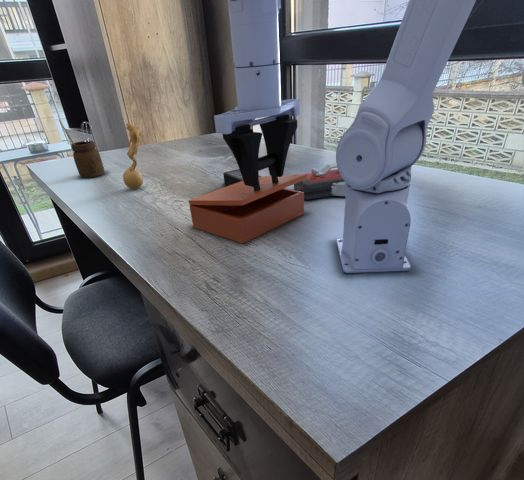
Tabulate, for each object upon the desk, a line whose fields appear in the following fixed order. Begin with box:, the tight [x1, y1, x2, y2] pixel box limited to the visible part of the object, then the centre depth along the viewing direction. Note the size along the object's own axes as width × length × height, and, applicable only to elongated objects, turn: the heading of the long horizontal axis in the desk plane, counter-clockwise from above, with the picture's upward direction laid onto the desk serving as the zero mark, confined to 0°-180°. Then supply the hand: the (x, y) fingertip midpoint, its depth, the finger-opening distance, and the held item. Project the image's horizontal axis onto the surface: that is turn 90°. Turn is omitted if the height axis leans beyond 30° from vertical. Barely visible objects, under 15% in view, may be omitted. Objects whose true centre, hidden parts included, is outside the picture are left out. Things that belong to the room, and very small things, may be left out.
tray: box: [189, 187, 305, 244], centre depth 62 cm, size 11×14×4 cm
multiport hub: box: [222, 168, 263, 187], centre depth 76 cm, size 4×11×2 cm, turn 32°
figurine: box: [122, 122, 144, 190], centre depth 78 cm, size 8×6×12 cm
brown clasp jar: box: [58, 119, 105, 179], centre depth 89 cm, size 6×6×12 cm
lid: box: [188, 153, 307, 206], centre depth 59 cm, size 12×14×5 cm
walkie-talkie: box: [293, 162, 346, 201], centre depth 70 cm, size 9×4×20 cm
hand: (264, 180), depth 56 cm, fingers closed on lid, 5 cm apart
